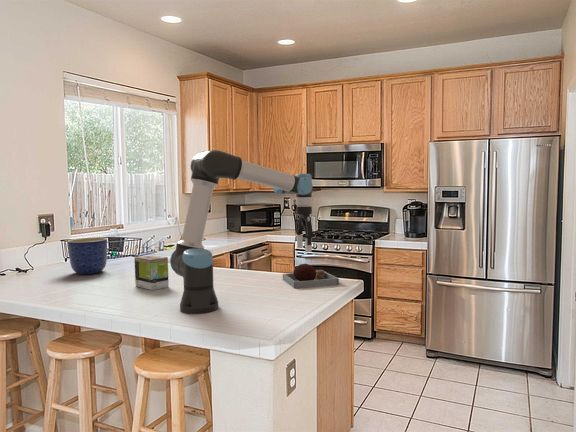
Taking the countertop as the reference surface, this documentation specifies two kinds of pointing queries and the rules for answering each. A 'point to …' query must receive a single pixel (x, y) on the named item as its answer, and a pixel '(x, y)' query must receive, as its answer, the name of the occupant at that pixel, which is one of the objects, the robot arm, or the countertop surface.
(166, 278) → the tea box
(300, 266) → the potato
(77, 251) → the planter
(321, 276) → the walnut block
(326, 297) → the countertop surface
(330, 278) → the tray
